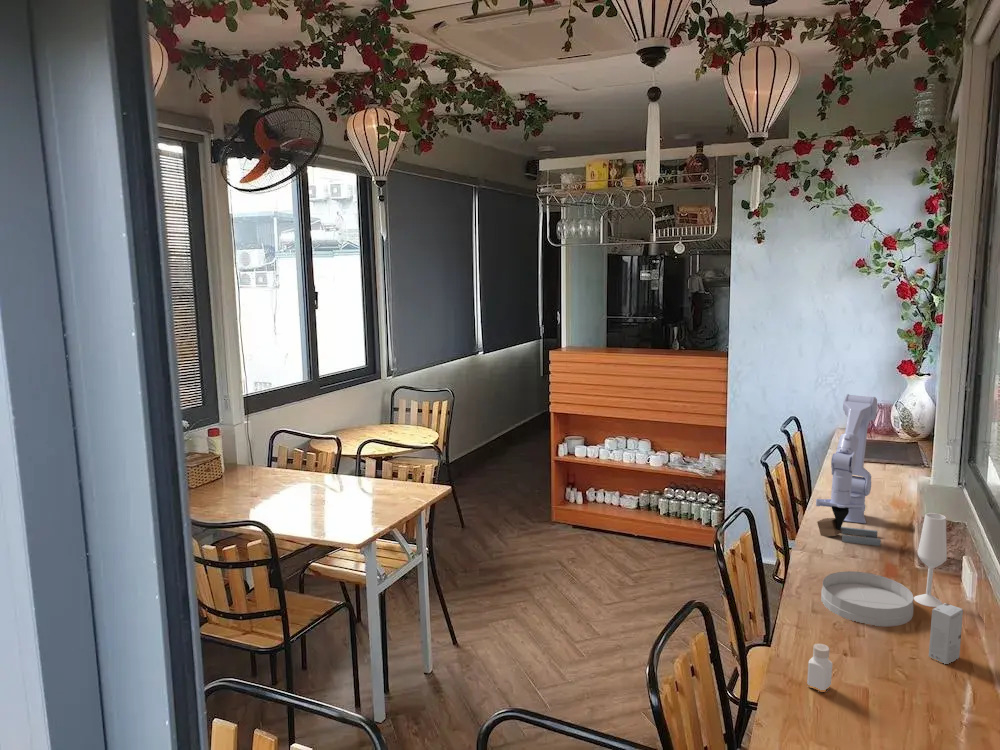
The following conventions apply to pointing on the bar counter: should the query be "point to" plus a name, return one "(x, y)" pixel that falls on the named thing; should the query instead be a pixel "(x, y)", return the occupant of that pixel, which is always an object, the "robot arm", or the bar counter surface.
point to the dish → (867, 598)
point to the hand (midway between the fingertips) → (838, 529)
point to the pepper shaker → (820, 668)
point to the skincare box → (945, 633)
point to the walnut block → (828, 527)
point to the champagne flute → (932, 552)
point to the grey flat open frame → (868, 539)
